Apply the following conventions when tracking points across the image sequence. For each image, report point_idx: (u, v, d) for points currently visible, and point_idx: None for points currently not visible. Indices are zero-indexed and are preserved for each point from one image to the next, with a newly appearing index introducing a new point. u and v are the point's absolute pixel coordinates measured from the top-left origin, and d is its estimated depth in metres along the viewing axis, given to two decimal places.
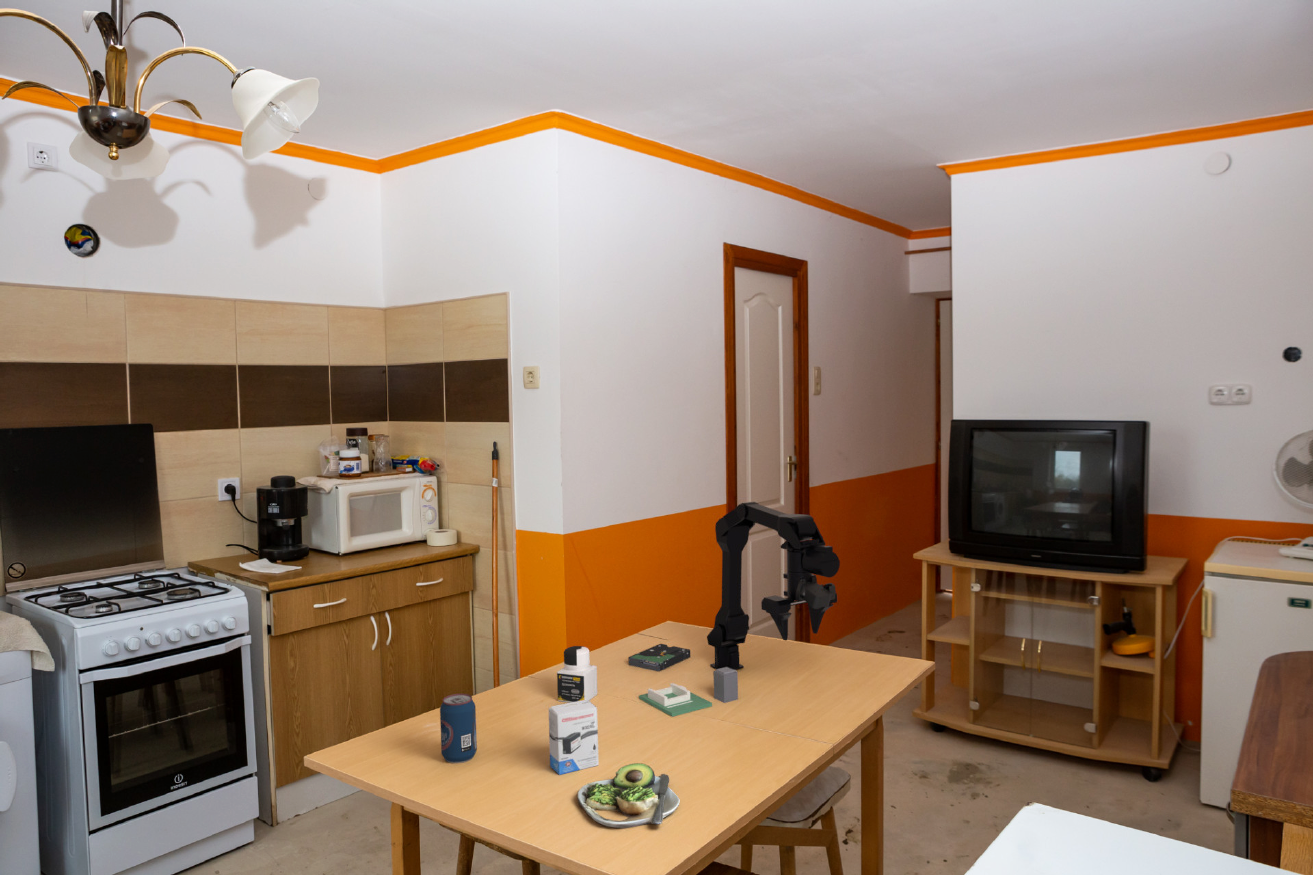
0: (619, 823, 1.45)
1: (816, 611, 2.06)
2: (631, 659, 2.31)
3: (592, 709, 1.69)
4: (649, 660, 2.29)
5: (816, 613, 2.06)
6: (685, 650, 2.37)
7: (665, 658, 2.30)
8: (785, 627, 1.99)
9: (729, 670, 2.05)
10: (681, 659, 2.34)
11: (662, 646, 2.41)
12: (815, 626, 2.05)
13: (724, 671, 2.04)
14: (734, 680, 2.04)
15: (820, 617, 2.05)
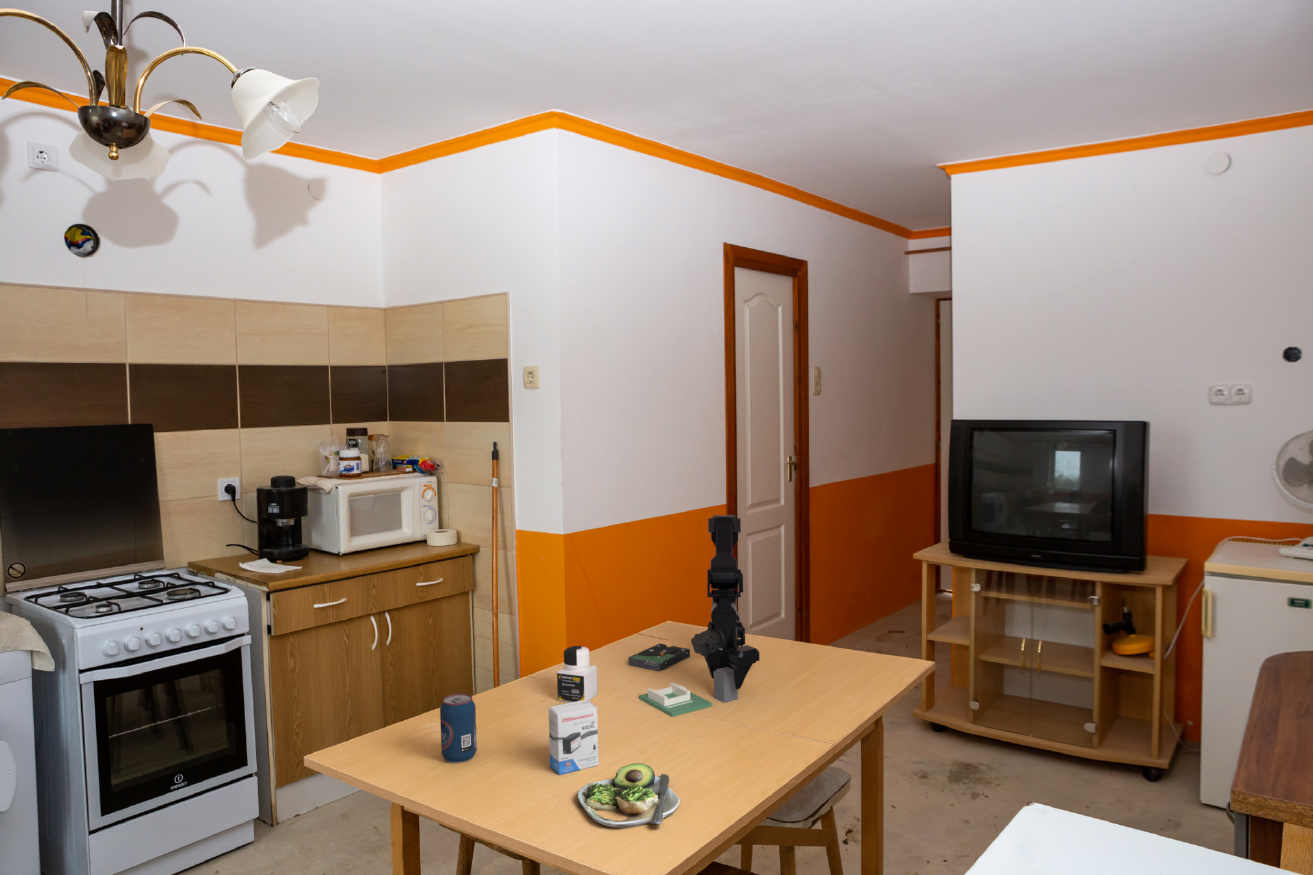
0: (619, 823, 1.45)
1: None
2: (631, 659, 2.31)
3: (592, 709, 1.69)
4: (649, 660, 2.29)
5: None
6: (685, 650, 2.37)
7: (665, 658, 2.30)
8: (707, 664, 2.09)
9: (729, 670, 2.04)
10: (681, 659, 2.34)
11: (661, 646, 2.41)
12: None
13: (724, 671, 2.04)
14: None
15: (734, 673, 2.00)
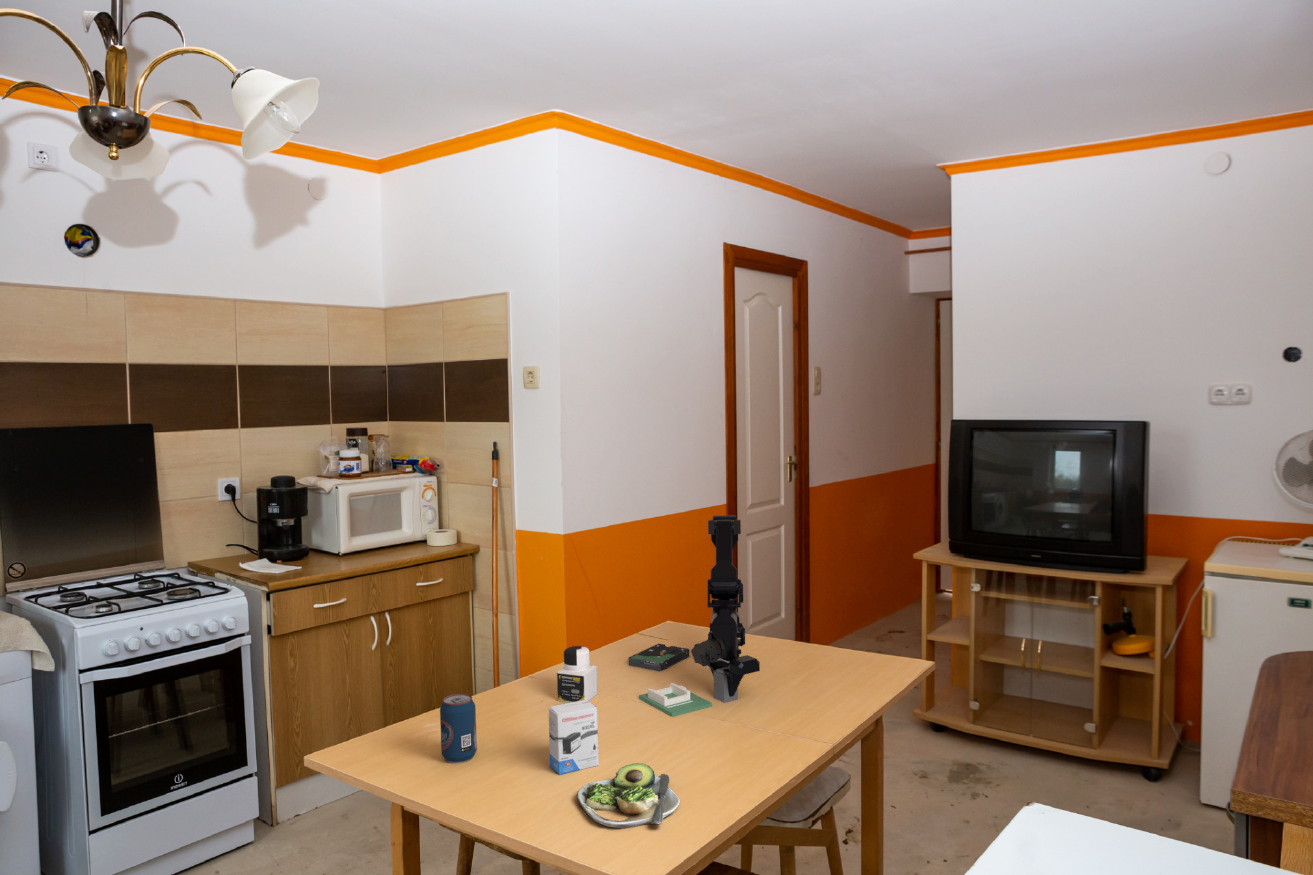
0: (619, 823, 1.45)
1: None
2: (631, 659, 2.31)
3: (592, 709, 1.69)
4: (650, 660, 2.29)
5: None
6: (684, 649, 2.37)
7: (665, 658, 2.30)
8: None
9: None
10: (681, 658, 2.35)
11: (661, 646, 2.41)
12: None
13: None
14: None
15: (728, 681, 2.02)
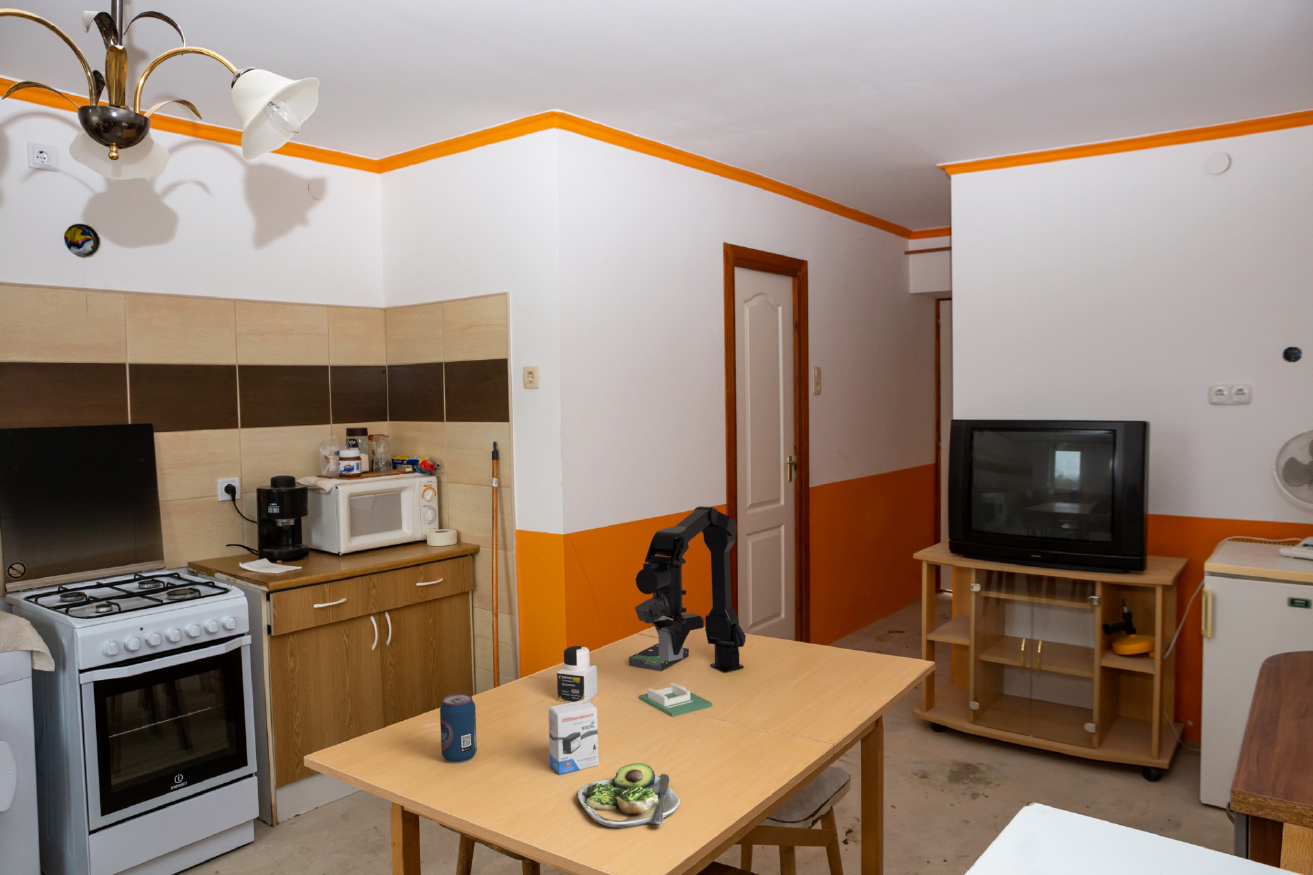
0: (619, 823, 1.45)
1: None
2: (631, 659, 2.31)
3: (592, 709, 1.69)
4: (650, 660, 2.29)
5: None
6: (684, 649, 2.37)
7: None
8: None
9: None
10: None
11: None
12: None
13: None
14: None
15: (672, 639, 2.00)
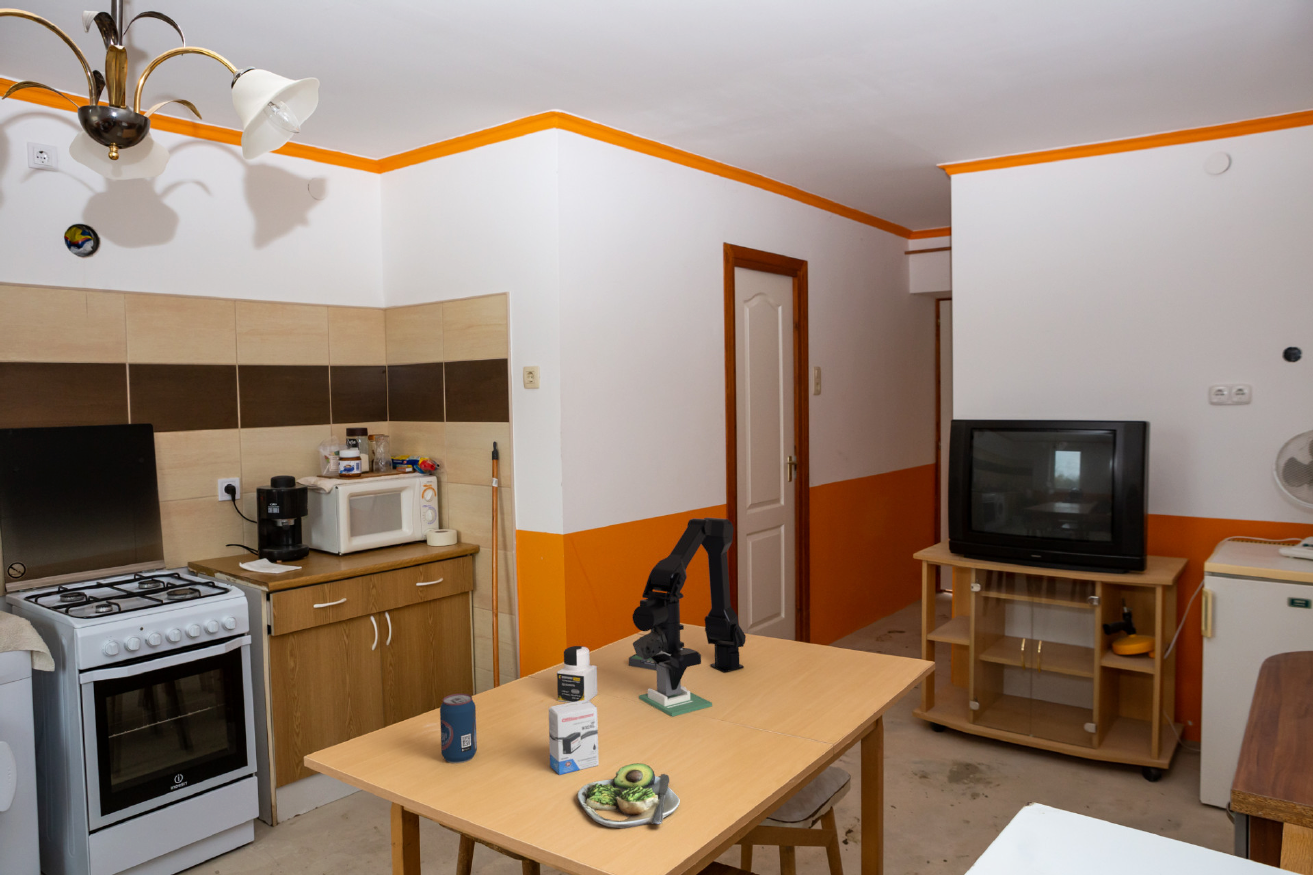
0: (619, 823, 1.45)
1: None
2: (632, 659, 2.31)
3: (592, 709, 1.69)
4: (650, 660, 2.29)
5: None
6: None
7: None
8: None
9: None
10: None
11: None
12: None
13: None
14: None
15: (670, 674, 2.01)
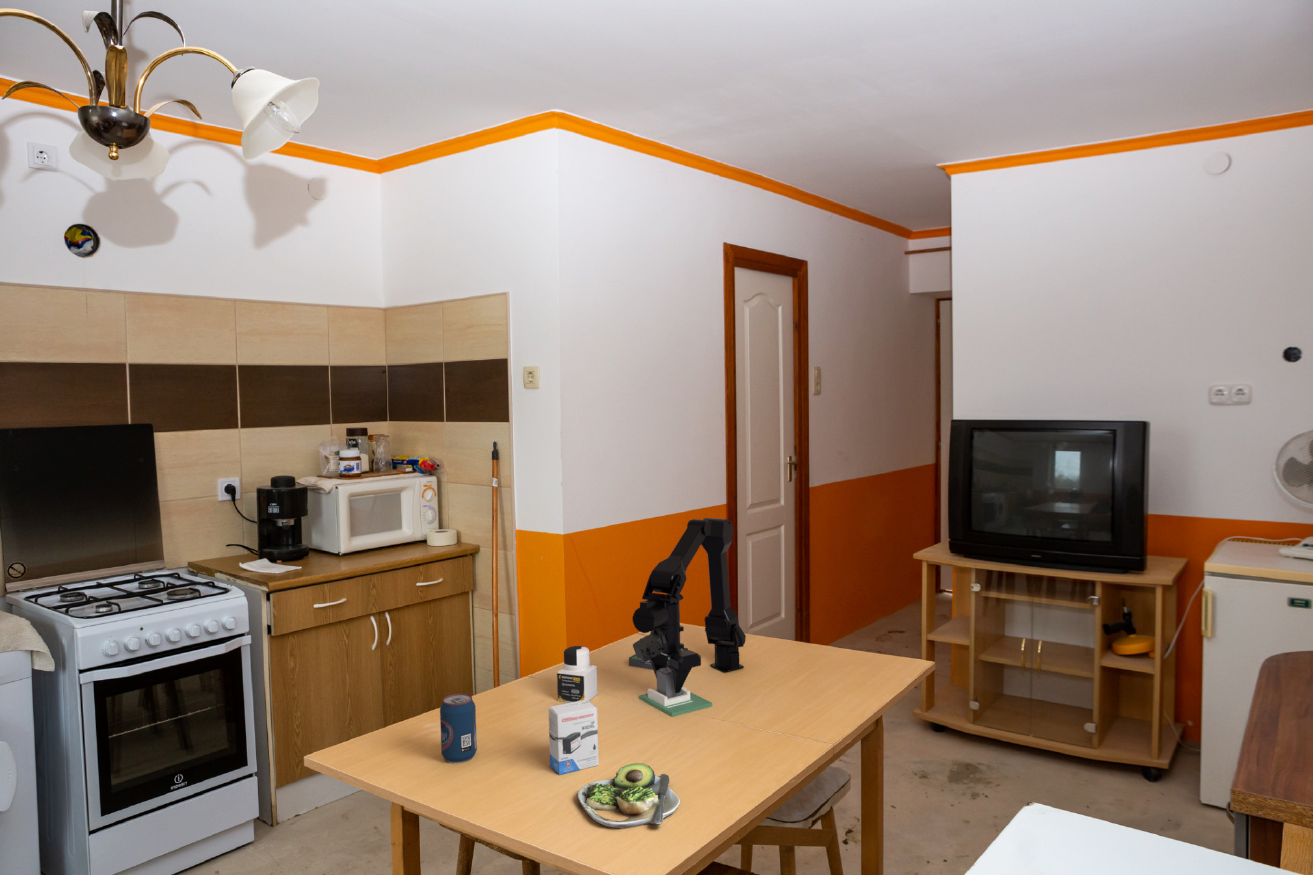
0: (619, 823, 1.45)
1: None
2: (632, 660, 2.31)
3: (592, 709, 1.69)
4: None
5: None
6: (683, 649, 2.38)
7: None
8: (654, 670, 2.07)
9: None
10: None
11: None
12: None
13: (667, 671, 2.02)
14: None
15: (674, 677, 1.99)
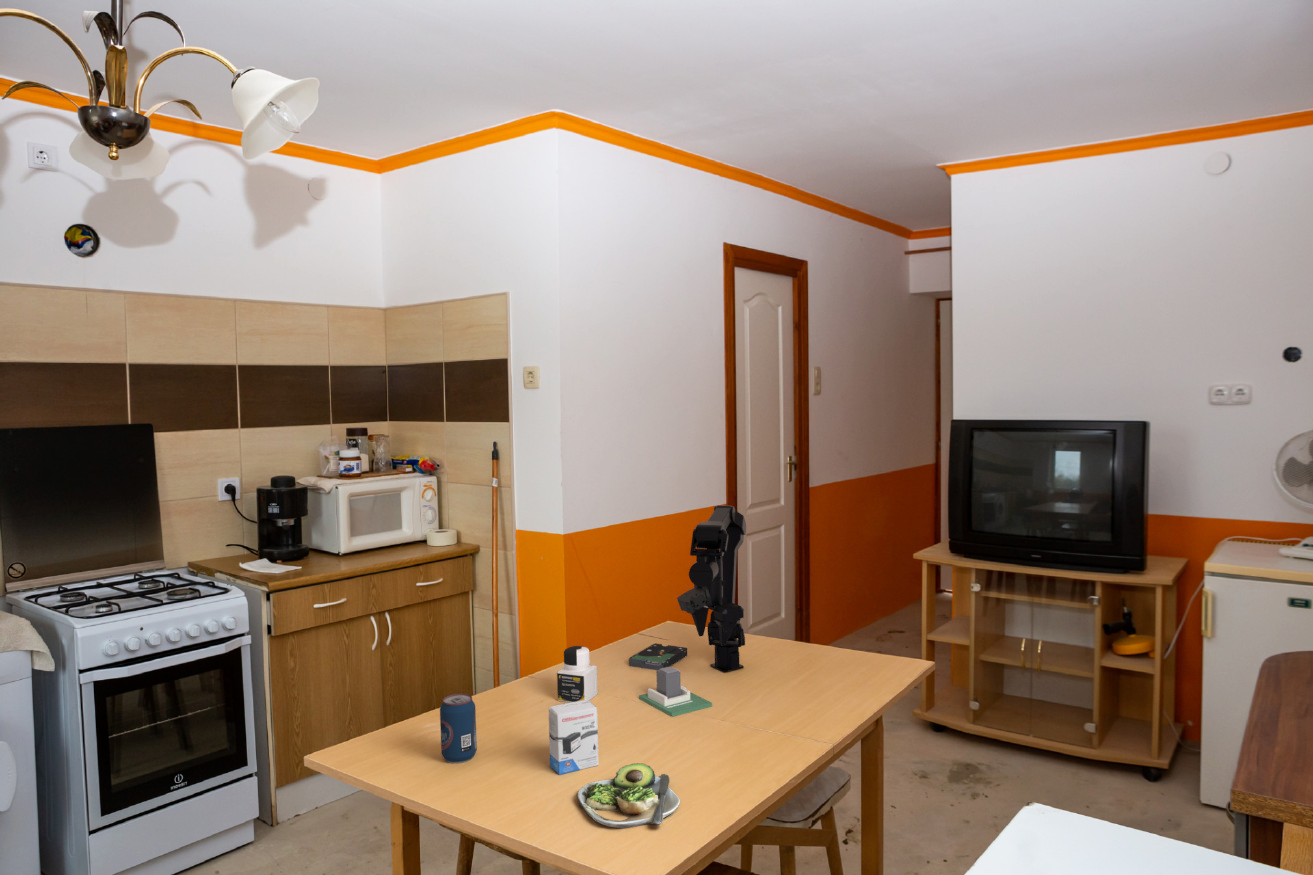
0: (619, 823, 1.45)
1: None
2: (632, 660, 2.30)
3: (592, 709, 1.69)
4: (651, 660, 2.29)
5: None
6: (682, 648, 2.38)
7: (666, 657, 2.31)
8: (695, 622, 2.14)
9: (672, 670, 2.03)
10: (680, 658, 2.35)
11: (658, 645, 2.41)
12: None
13: (667, 671, 2.02)
14: (677, 680, 2.03)
15: (719, 630, 2.05)
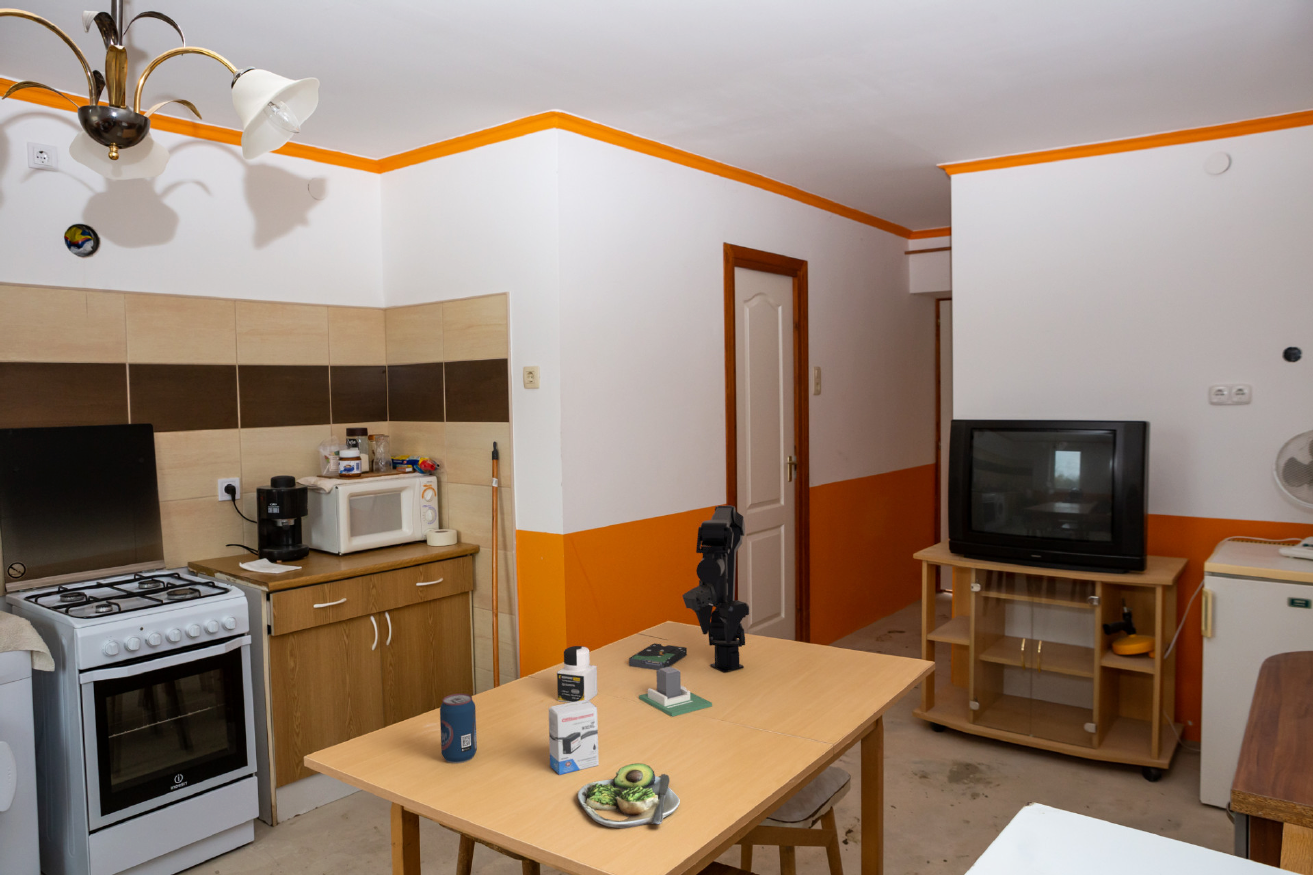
0: (619, 823, 1.45)
1: None
2: (632, 660, 2.30)
3: (592, 709, 1.69)
4: (651, 660, 2.29)
5: None
6: (682, 648, 2.38)
7: (666, 657, 2.31)
8: (699, 620, 2.15)
9: (672, 670, 2.03)
10: (680, 657, 2.35)
11: (657, 645, 2.41)
12: None
13: (667, 671, 2.02)
14: (677, 680, 2.03)
15: (725, 628, 2.06)
